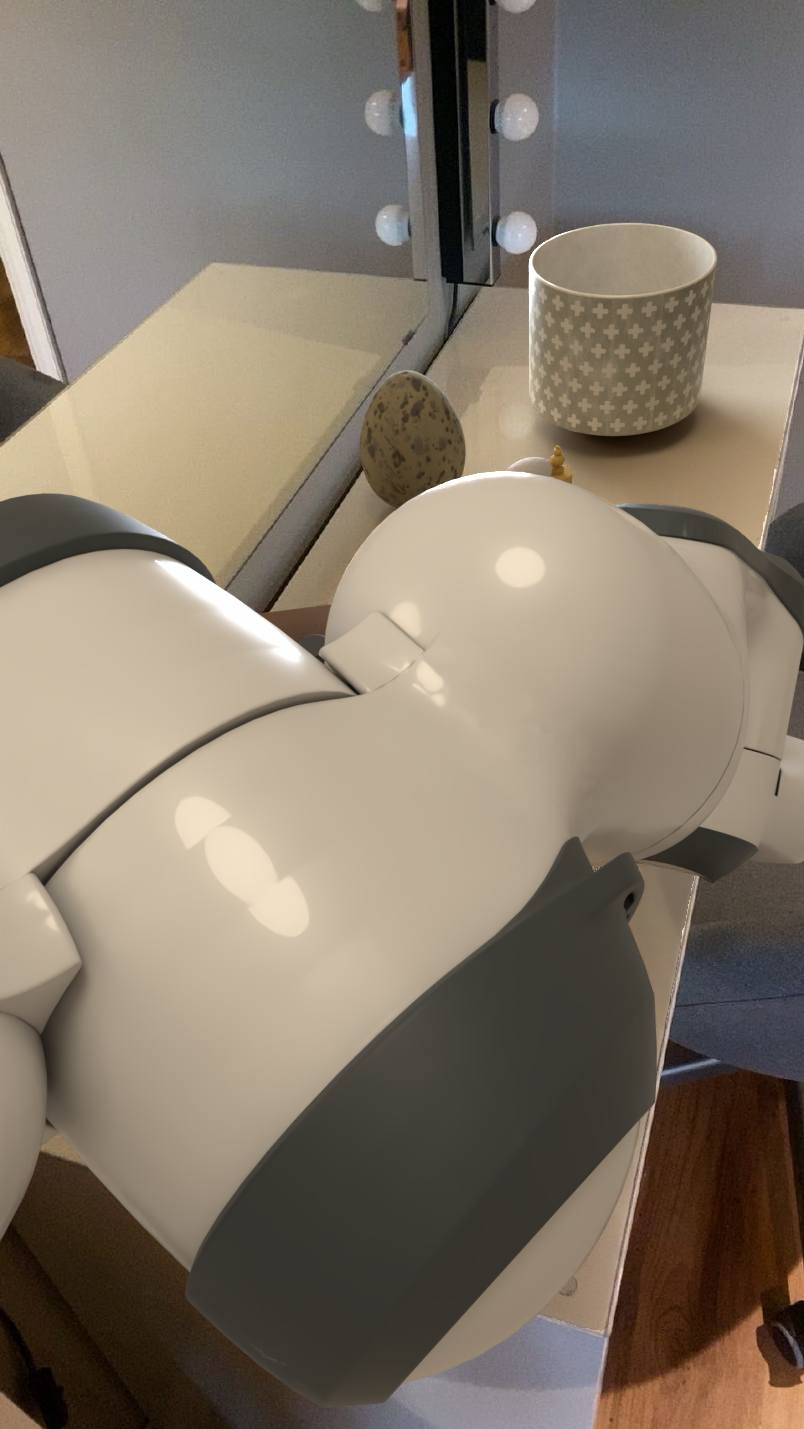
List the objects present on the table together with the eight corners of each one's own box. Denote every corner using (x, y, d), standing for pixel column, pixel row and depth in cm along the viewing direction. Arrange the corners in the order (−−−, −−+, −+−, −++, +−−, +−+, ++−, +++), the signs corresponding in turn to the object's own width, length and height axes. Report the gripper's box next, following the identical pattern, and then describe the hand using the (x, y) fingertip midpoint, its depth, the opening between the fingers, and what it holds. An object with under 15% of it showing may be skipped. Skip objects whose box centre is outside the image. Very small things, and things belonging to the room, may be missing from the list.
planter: (644, 478, 111) (659, 311, 99) (497, 432, 121) (493, 274, 108) (727, 401, 121) (750, 240, 108) (584, 364, 130) (590, 212, 118)
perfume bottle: (603, 536, 105) (609, 428, 96) (572, 594, 99) (576, 484, 90) (532, 523, 107) (532, 416, 99) (498, 578, 101) (495, 470, 93)
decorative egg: (351, 527, 110) (333, 394, 99) (388, 472, 116) (374, 343, 106) (449, 541, 106) (440, 405, 96) (481, 484, 113) (476, 351, 103)
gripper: (598, 621, 73) (411, 592, 77) (521, 844, 60) (301, 795, 64) (594, 687, 78) (418, 656, 82) (522, 908, 64) (316, 858, 68)
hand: (365, 719), depth 73 cm, fingers open, 8 cm apart
